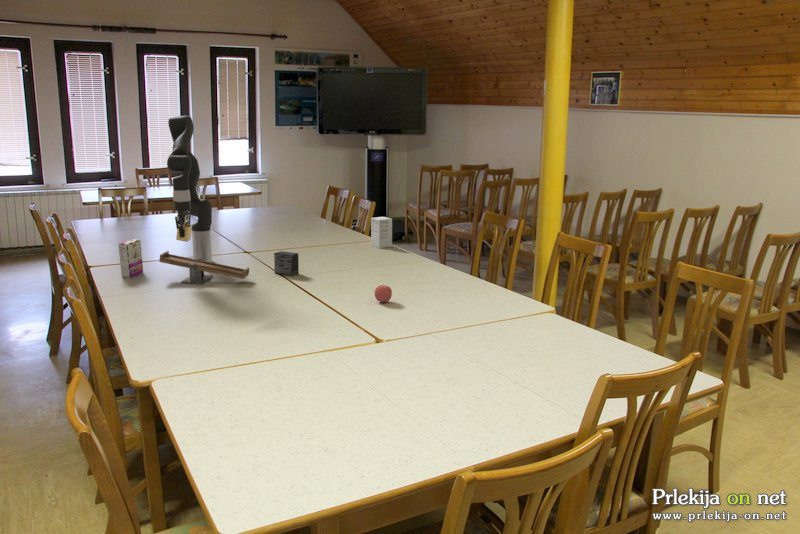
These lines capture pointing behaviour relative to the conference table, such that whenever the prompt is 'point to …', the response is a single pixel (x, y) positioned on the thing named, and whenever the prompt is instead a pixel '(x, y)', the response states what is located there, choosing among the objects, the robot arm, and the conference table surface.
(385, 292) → the apple
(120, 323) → the conference table surface
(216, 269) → the beam
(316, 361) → the conference table surface
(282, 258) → the small box
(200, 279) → the pivot stand
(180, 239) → the wooden block
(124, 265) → the candy bar box
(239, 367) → the conference table surface
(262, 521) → the conference table surface
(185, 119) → the robot arm
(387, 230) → the supplement box
